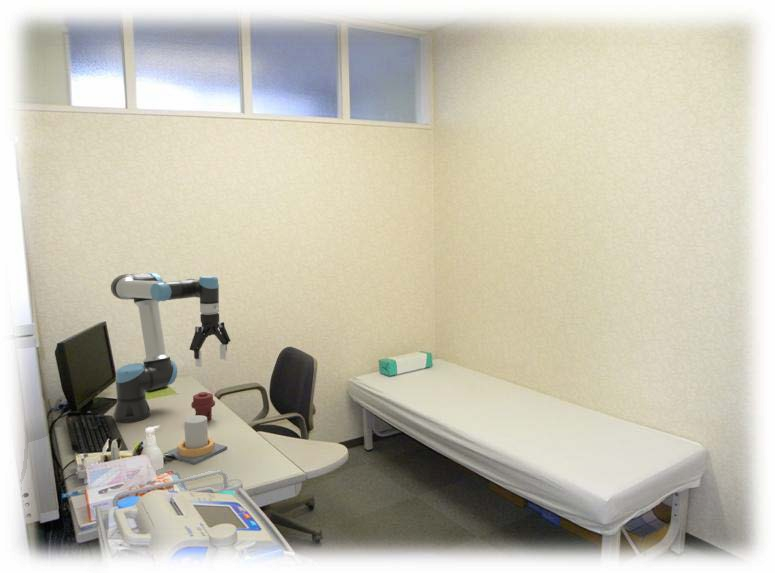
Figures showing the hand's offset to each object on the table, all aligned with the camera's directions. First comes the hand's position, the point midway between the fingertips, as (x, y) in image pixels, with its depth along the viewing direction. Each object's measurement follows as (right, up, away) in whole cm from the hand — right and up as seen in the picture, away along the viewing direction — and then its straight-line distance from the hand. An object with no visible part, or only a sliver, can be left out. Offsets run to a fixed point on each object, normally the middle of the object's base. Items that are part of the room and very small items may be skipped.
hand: (211, 362), depth 230 cm
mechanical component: (-7, -28, +13) cm, 31 cm away
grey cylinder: (+1, -30, -21) cm, 37 cm away
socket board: (+1, -31, -21) cm, 38 cm away
